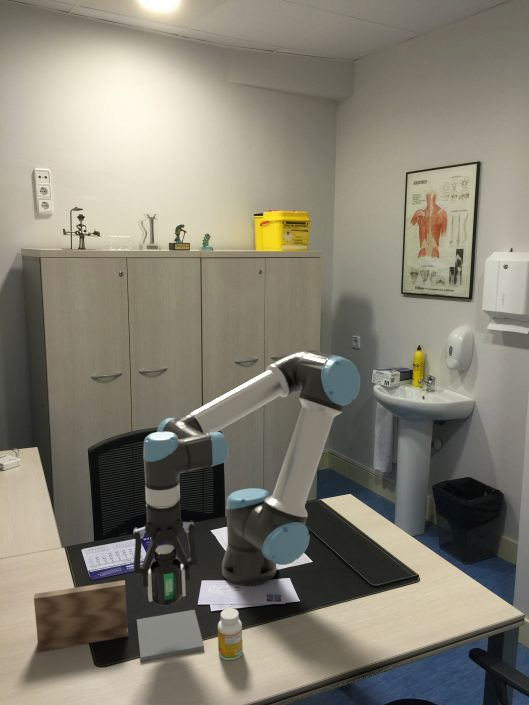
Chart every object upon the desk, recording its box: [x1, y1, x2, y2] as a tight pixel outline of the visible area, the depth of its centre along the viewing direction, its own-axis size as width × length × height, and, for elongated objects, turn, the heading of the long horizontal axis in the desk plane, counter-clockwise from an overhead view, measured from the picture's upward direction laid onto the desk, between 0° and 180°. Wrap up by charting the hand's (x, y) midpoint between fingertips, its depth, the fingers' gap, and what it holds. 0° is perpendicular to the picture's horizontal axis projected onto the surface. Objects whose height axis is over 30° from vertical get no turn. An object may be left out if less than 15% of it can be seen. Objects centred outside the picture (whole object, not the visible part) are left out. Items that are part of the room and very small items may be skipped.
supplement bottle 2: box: [217, 607, 244, 661], centre depth 134 cm, size 5×5×10 cm
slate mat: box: [136, 609, 205, 662], centre depth 141 cm, size 14×14×1 cm
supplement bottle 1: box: [149, 543, 182, 607], centre depth 138 cm, size 7×7×12 cm
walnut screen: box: [33, 579, 129, 653], centre depth 140 cm, size 20×6×12 cm, turn 105°
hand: (166, 595), depth 139 cm, fingers closed on supplement bottle 1, 7 cm apart
